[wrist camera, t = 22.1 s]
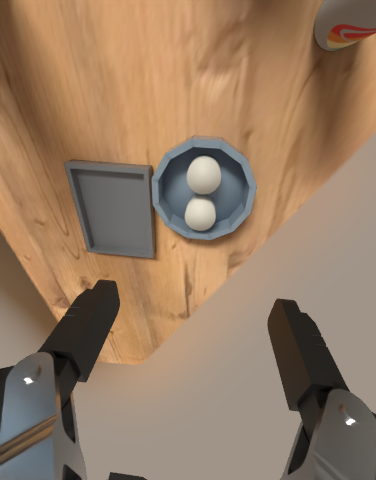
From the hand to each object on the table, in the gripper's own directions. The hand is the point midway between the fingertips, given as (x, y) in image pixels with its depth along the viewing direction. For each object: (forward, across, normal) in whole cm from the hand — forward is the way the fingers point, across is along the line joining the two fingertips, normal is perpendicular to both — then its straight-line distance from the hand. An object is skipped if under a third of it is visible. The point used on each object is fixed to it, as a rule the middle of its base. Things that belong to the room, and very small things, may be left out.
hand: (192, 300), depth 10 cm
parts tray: (+28, +16, +9) cm, 34 cm away
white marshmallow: (+27, 0, +6) cm, 28 cm away
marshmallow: (+27, 0, 0) cm, 27 cm away
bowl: (+28, 0, +3) cm, 28 cm away
